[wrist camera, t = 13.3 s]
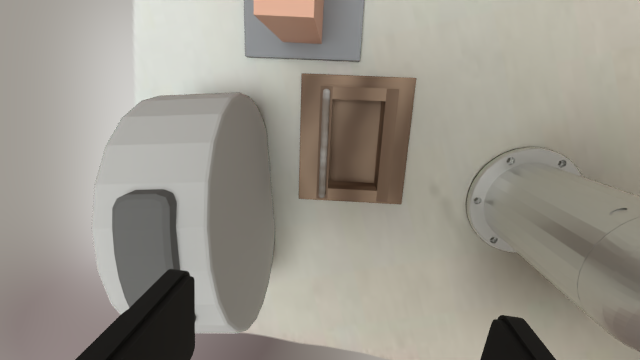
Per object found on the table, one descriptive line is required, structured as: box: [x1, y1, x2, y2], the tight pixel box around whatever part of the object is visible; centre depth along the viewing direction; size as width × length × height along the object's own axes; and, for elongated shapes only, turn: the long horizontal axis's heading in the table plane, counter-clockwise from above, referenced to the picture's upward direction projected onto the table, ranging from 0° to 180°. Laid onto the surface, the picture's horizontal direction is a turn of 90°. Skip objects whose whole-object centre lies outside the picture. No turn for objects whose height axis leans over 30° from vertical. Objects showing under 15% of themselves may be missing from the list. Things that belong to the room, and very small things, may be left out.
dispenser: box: [299, 74, 416, 204], centre depth 33 cm, size 12×14×5 cm
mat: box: [244, 0, 364, 61], centre depth 32 cm, size 12×11×1 cm
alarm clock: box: [92, 93, 275, 333], centre depth 28 cm, size 21×8×20 cm, turn 2°
